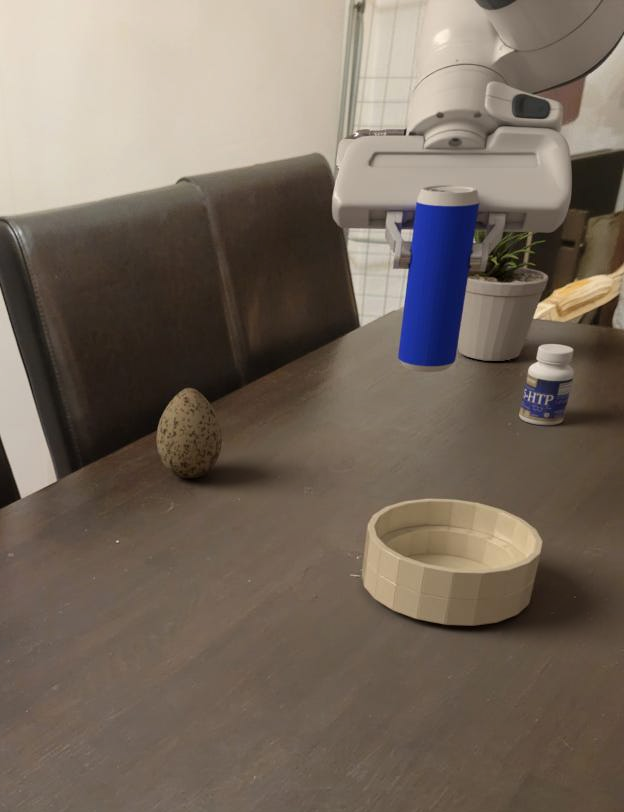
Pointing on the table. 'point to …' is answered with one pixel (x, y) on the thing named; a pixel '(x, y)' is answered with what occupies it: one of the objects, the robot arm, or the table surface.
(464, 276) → the beverage can
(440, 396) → the table surface
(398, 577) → the bowl
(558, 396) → the pill bottle
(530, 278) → the potted plant
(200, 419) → the decorative egg
